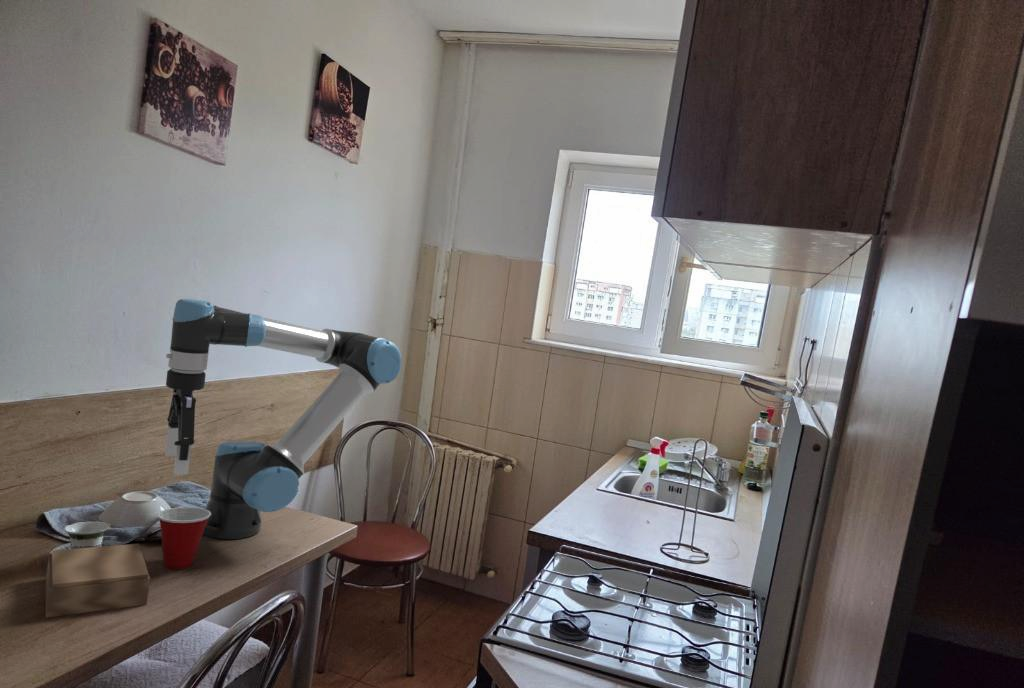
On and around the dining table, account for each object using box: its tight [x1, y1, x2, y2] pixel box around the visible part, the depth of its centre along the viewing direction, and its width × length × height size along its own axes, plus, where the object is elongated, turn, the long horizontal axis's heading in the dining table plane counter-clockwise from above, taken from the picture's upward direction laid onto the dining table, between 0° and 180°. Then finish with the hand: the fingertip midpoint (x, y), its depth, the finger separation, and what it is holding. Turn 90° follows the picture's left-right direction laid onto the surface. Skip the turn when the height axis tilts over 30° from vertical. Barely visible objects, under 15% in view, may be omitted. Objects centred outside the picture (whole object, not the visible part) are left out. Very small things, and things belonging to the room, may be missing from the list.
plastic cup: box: [157, 506, 211, 570], centre depth 142 cm, size 11×11×12 cm
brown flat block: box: [45, 543, 151, 618], centre depth 125 cm, size 16×16×6 cm
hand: (176, 464), depth 139 cm, fingers open, 13 cm apart
